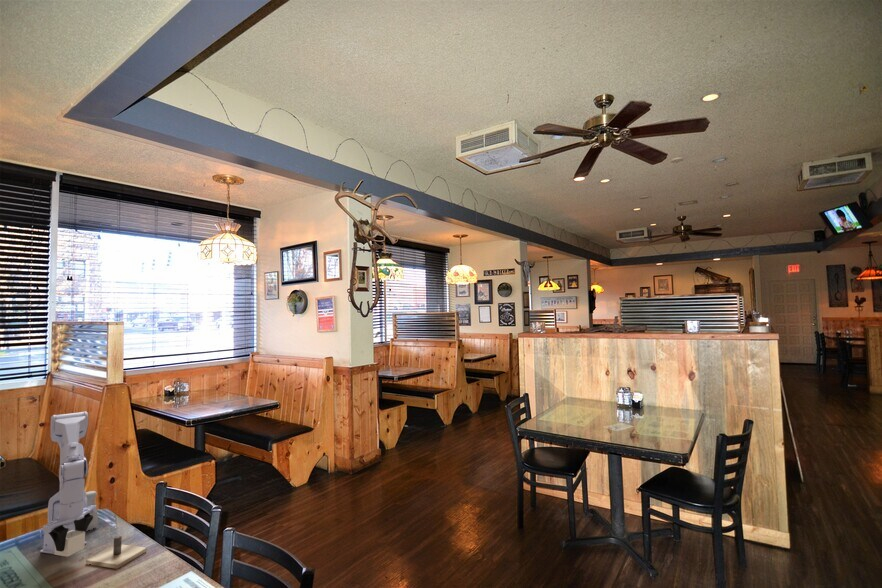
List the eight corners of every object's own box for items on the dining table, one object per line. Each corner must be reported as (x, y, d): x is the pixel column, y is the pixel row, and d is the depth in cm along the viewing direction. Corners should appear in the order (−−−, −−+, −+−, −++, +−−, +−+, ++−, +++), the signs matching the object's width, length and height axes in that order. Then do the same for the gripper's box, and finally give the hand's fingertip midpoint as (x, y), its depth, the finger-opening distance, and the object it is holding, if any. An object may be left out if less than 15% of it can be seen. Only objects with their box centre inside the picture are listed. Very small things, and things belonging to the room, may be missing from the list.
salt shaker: (86, 533, 153) (87, 496, 154) (73, 532, 154) (74, 494, 155) (102, 526, 159) (103, 489, 159) (89, 524, 160) (91, 488, 160)
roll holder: (86, 564, 134) (86, 543, 134) (116, 547, 144) (117, 528, 144) (117, 568, 131) (118, 547, 132) (146, 551, 141) (147, 532, 142)
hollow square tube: (54, 554, 131) (55, 537, 132) (71, 546, 136) (72, 529, 136) (67, 556, 130) (68, 539, 131) (84, 548, 135) (85, 531, 135)
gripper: (56, 512, 126) (54, 560, 125) (105, 492, 140) (103, 535, 140) (38, 509, 128) (35, 557, 127) (87, 490, 142) (85, 533, 141)
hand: (69, 545), depth 133 cm, fingers closed on hollow square tube, 5 cm apart
